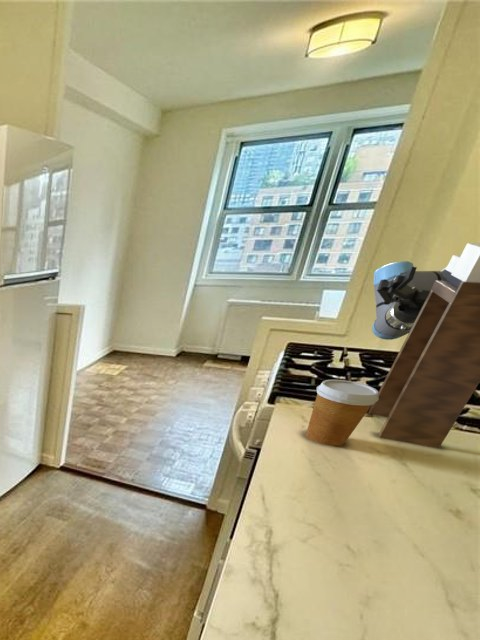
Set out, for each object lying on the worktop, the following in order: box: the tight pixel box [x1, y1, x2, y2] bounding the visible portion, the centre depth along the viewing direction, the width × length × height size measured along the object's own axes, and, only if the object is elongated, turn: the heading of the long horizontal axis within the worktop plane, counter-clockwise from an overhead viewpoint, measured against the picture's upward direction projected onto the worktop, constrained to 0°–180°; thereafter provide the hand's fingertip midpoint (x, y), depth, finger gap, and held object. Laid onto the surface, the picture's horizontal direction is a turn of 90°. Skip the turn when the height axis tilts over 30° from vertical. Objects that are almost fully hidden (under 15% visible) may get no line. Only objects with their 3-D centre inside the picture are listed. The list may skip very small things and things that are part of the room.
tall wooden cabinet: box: [368, 280, 480, 449], centre depth 98 cm, size 9×16×32 cm, turn 145°
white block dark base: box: [442, 242, 480, 287], centre depth 95 cm, size 6×18×7 cm, turn 145°
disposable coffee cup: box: [305, 379, 379, 447], centre depth 100 cm, size 10×10×12 cm
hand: (456, 275), depth 103 cm, fingers open, 13 cm apart
